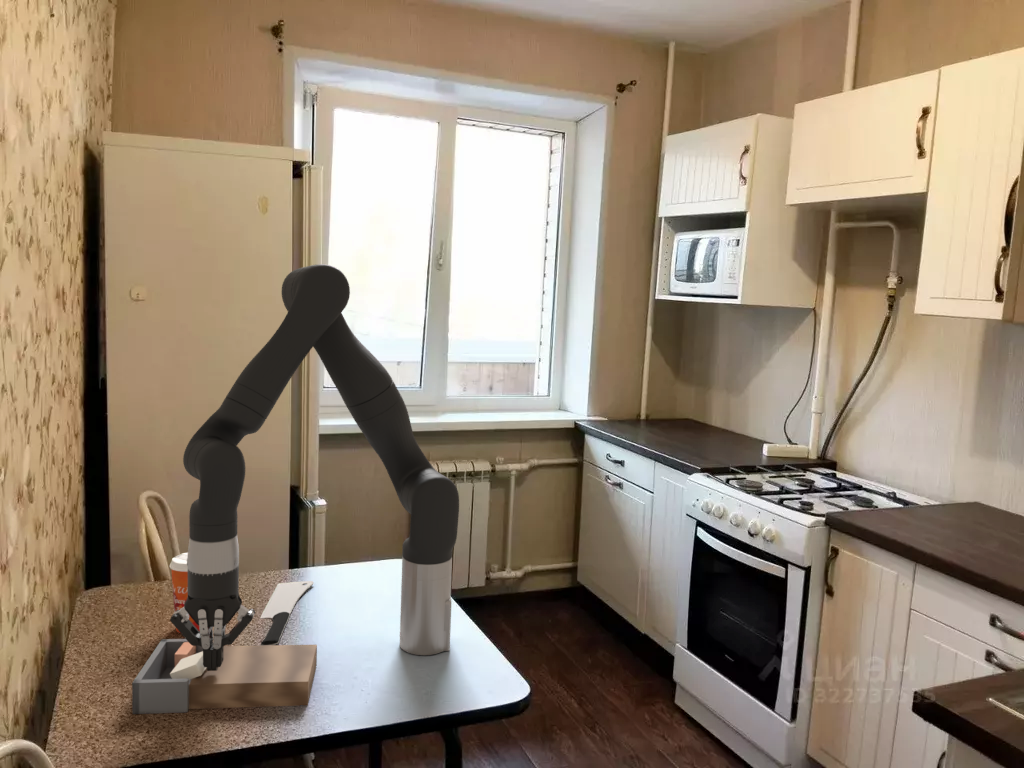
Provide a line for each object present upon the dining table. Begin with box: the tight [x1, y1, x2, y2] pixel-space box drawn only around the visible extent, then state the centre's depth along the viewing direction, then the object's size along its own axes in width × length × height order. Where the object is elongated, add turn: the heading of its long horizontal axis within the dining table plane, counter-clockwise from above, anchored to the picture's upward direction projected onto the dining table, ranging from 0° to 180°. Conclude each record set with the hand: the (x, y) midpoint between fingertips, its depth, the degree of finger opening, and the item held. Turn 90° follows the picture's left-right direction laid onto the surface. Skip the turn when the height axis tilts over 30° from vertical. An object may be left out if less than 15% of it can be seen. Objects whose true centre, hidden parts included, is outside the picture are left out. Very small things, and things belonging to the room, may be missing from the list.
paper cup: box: [169, 551, 200, 634], centre depth 149 cm, size 8×8×14 cm
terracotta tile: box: [175, 642, 196, 667], centre depth 131 cm, size 4×4×2 cm
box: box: [131, 638, 203, 715], centre depth 127 cm, size 8×15×5 cm, turn 8°
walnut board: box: [189, 644, 318, 710], centre depth 129 cm, size 18×13×4 cm
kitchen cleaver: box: [259, 580, 315, 646], centre depth 159 cm, size 31×2×10 cm
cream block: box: [170, 651, 207, 680], centre depth 125 cm, size 4×4×2 cm
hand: (213, 668), depth 125 cm, fingers closed
